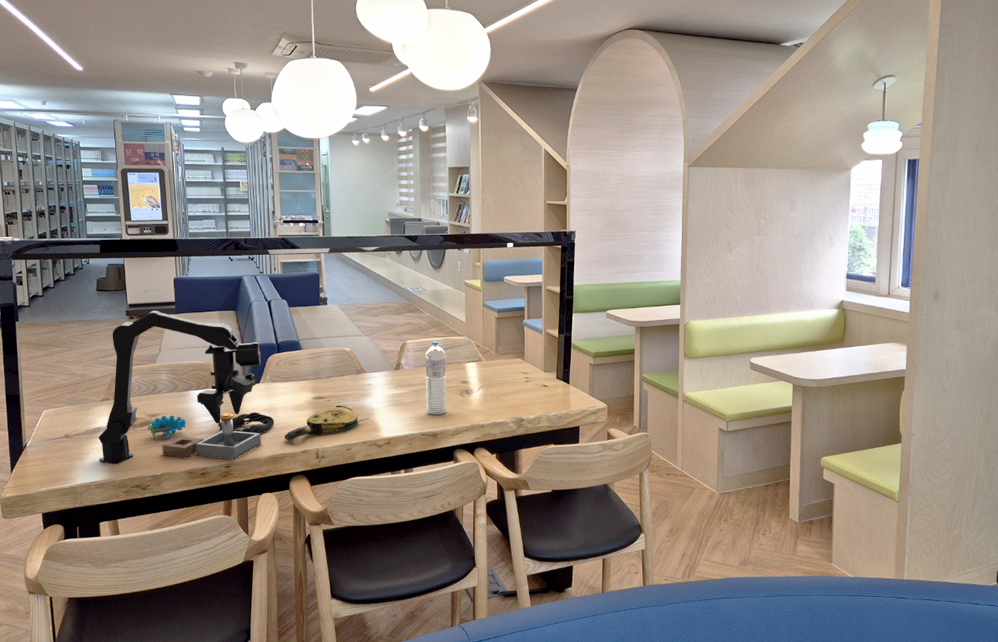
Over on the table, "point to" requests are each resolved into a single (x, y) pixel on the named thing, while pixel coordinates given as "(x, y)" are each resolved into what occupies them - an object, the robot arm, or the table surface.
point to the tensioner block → (181, 447)
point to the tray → (218, 449)
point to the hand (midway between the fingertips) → (227, 418)
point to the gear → (166, 425)
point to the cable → (252, 417)
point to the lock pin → (227, 429)
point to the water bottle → (435, 380)
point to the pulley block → (327, 422)
